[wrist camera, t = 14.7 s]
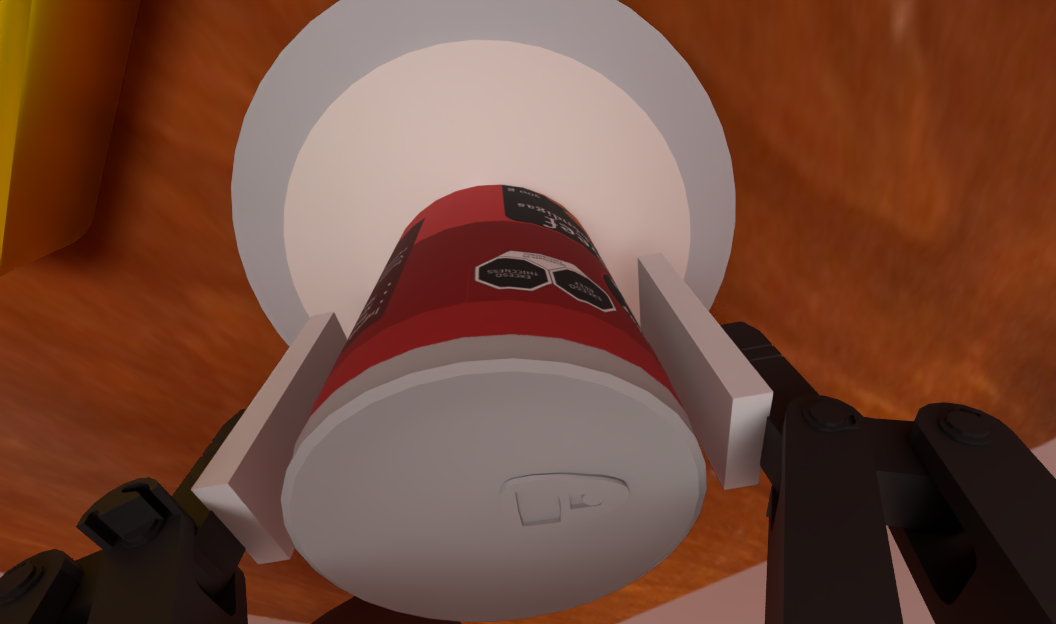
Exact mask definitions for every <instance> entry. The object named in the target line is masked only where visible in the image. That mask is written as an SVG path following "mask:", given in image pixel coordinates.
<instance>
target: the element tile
mask: <svg viewBox="0 0 1056 624" xmlns="http://www.w3.org/2000/svg"><path fill="white" fill-rule="evenodd" d="M140 1H141V0H0V276H2V275H4V274H6V273H8V272H11V271H13V270H15V269H17V268H19V267H22V266H24V265H26V264H28V263H30V262H33V261H35V260H37V259H39V258H41V257H44V256H46V255H48V254H50V253H52V252H54V251H57V250H59V249H61V248H63V247H65V246H68V245H70V244H72V243H74V242H76V241H77V240H78V239H80V238H81V237H82V236H83V235H84V234H85V233H87V232H88V230H89V228H90V226H91V224H92V222H93V218H94V213H95V209H96V204H97V200H98V195H99V190H100V186H101V181H102V176H103V172H104V167H105V163H106V158H107V153H108V149H109V144H110V140H111V135H112V130H113V126H114V121H115V116H116V112H117V107H118V103H119V98H120V93H121V89H122V84H123V79H124V75H125V70H126V66H127V61H128V56H129V52H130V47H131V43H132V38H133V33H134V29H135V24H136V19H137V15H138V10H139V6H140Z"/></svg>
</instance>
